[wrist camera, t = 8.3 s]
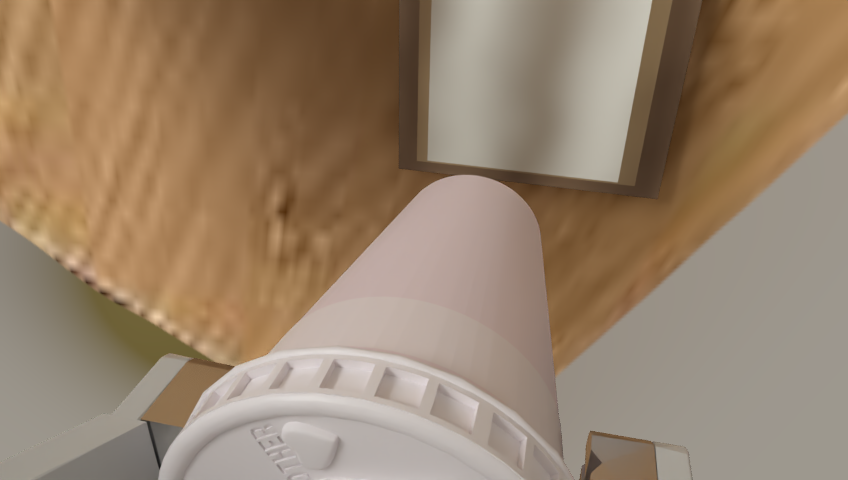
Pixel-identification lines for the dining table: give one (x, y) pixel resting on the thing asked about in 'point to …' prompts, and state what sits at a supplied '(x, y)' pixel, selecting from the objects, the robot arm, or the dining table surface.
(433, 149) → the square stepped pedestal
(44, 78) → the dining table surface
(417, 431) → the smoothie
